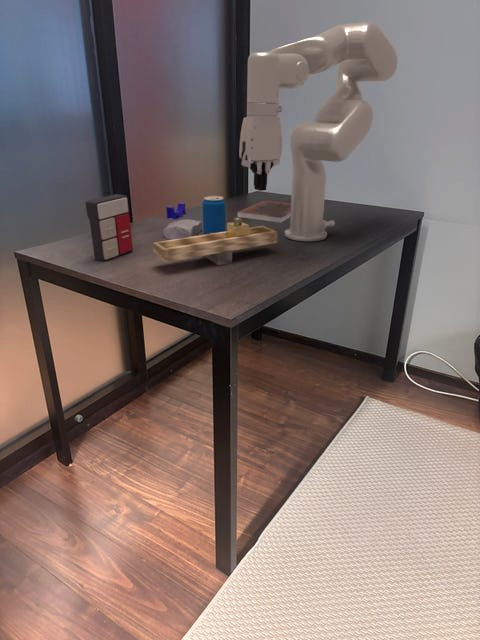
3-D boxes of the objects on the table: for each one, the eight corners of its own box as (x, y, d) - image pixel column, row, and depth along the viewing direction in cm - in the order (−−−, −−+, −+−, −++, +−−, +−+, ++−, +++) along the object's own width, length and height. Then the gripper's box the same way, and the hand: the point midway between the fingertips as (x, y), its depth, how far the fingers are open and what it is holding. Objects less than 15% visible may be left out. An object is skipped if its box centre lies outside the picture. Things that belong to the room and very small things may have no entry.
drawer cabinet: (104, 262, 122) (97, 203, 115) (93, 259, 124) (84, 201, 117) (135, 251, 130) (129, 195, 124) (123, 248, 132) (117, 193, 126)
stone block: (162, 245, 142) (194, 240, 140) (158, 229, 140) (190, 224, 138) (175, 235, 153) (204, 231, 150) (171, 220, 151) (201, 215, 148)
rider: (240, 236, 127) (240, 215, 125) (248, 240, 124) (248, 219, 122) (227, 238, 125) (226, 217, 123) (235, 242, 122) (235, 221, 120)
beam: (261, 246, 134) (261, 224, 132) (277, 254, 128) (278, 231, 125) (153, 265, 120) (151, 241, 117) (166, 275, 114) (164, 250, 111)
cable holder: (175, 219, 162) (174, 208, 160) (167, 218, 164) (166, 207, 162) (189, 215, 168) (188, 203, 167) (181, 214, 170) (180, 202, 168)
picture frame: (280, 224, 159) (305, 211, 176) (281, 217, 158) (305, 204, 175) (237, 218, 166) (264, 206, 183) (237, 211, 165) (264, 199, 182)
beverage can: (228, 237, 143) (228, 196, 137) (220, 243, 137) (220, 201, 132) (208, 235, 144) (207, 194, 139) (200, 241, 139) (198, 199, 134)
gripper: (279, 110, 121) (276, 185, 129) (227, 111, 114) (227, 189, 122) (297, 111, 115) (292, 189, 123) (243, 112, 108) (242, 194, 116)
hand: (260, 189), depth 122 cm, fingers closed
